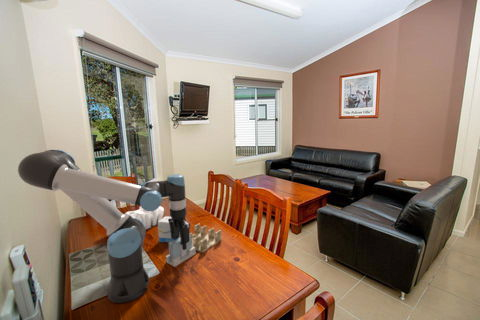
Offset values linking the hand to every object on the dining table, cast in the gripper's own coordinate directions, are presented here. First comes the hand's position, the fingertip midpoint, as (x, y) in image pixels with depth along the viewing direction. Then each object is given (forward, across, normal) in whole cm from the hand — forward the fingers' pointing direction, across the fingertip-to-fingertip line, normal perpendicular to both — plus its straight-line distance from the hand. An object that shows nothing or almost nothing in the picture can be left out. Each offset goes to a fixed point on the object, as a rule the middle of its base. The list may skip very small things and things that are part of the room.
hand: (181, 253), depth 111 cm
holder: (+2, 0, 0) cm, 2 cm away
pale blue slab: (+1, 0, 0) cm, 1 cm away
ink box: (+2, +21, -9) cm, 23 cm away
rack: (+2, +3, -16) cm, 16 cm away
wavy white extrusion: (+2, +50, -9) cm, 51 cm away
